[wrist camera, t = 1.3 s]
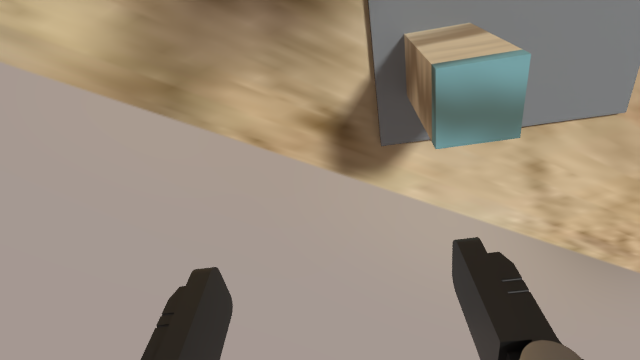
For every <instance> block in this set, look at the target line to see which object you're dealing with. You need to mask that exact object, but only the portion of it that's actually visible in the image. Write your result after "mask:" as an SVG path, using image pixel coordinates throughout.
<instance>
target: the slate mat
mask: <svg viewBox="0 0 640 360" xmlns="http://www.w3.org/2000/svg"><path fill="white" fill-rule="evenodd" d="M368 5H369V16H370V27H371V38H372V50H373V61H374V72H375V83H376V95H377V106H378V117H379V128H380V140H381V146H386V145H394V144H401V143H408V142H415V141H422V140H430V138H429V136H428V134H427V132H426V130H425V128H424V126H423V124H422V123H421V121H420V119H419V117H418V115H417V113H416V111H415V110H414V108H413V106H412V104H411V102H410V100H409V98H408V97H407V88H406V65H405V42H404V34H407V33H413V32H419V31H424V30H430V29H436V28H442V27H448V26H454V25H460V24H466V23H472V24H474V25H476V26H478V27H479V28H481V29H483V30H485V31H487V32H489V33H491V34H493V35H495V36H497V37H499V38H501V39H503V40H505V41H507V42H509V43H511V44H513V45H515V46H517V47H519V48H521V49H523V50H525V51H527V52H529V53H531V59H530V66H529V74H528V81H527V89H526V96H525V104H524V111H523V119H522V127H524V126H531V125H538V124H545V123H553V122H560V121H567V120H574V119H581V118H589V117H596V116H603V115H610V114H618V113H625V112H626V111H627V107H628V104H629V100H630V97H631V93H632V90H633V86H634V83H635V80H636V76H637V73H638V69H639V66H640V0H368Z"/></svg>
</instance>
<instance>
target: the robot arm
mask: <svg viewBox="0 0 640 360" xmlns="http://www.w3.org/2000/svg"><path fill="white" fill-rule="evenodd" d="M452 256H453V257H452V277H453V283H454V288H455V292H456V294H457V297H458V300H459V303H460V305H461V308H462V311H463V313H464V316H465V319H466V322H467V324H468V327H469V330H470V332H471V335H472V338H473V340H474V343H475V346H476V348H477V351H478V354H479V357H480V360H583V359H581V358H580V357H579V356H578V355H577V354H576V353H575V352H574V351H572V350H571V349H569V348H568V347H566V346H564V345H562V343H561V342H560V341H559V340H558V338H557V337H556V335H555V333H554V332H553V330H552V328H551V326H550V325H549V323H548V321H547V320H546V318H545V316H544V315H543V313H542V311H541V309H540V308H539V306H538V304H537V303H536V301H535V299H534V298H533V296H532V294H531V293H530V292H529V289H528V287H527V286H526V284H525V282H524V281H523V280H522V277H521V275H520V274H519V272H518V270H517V269H516V267H515V265H514V264H513V263H512V262H511V261H510V260H509V259H507V258H506V257H505V256H504V255H502V254H501V253H500V252H494V253H487V252H486V250H485V248H484V246H483V244H482V242H481V240H480V239H479V238H478V237H476V238H467V239H459V240H454V241H453V254H452ZM232 307H233V306H232V298H231V295H230V293H229V291H228V289H227V287H226V284H225V282H224V280H223V278H222V275H221V273H220V272H219V270H218V268H216V267H212V268H204V269H196V270H194V271H192V273H191V275H190V277H189V280H188V282H187V284H186V286H182V287H179V288H178V289H177V291H176V292H175V293H174V294H173V295H172V296H171V297H170V298H169V300H168V302H167V304H166V306H165V308H164V311H163V313H162V316H161V317H160V319H159V321H158V323H157V328H155V330H154V332H153V334H152V337H151V339H150V341H149V343H148V345H147V347H146V350H145V352H144V354H143V356H142V358H141V360H220V356H221V353H222V349H223V345H224V341H225V338H226V334H227V331H228V327H229V323H230V319H231V316H232Z"/></svg>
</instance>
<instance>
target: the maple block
mask: <svg viewBox="0 0 640 360" xmlns="http://www.w3.org/2000/svg"><path fill="white" fill-rule="evenodd" d="M404 42H405V65H406V88H407V97H408V98H409V100H410V102H411V104H412V106H413V108H414V110H415V111H416V113H417V115H418V117H419V119H420V121H421V123H422V124H423V126H424V128H425V130H426V132H427V134H428V136H429V138H430V139H431V141H432V143H433V145H434V147H435V149H441V148H448V147H456V146H463V145H470V144H478V143H485V142H493V141H500V140H507V139H515V138H520V134H521V127H522V119H523V111H524V104H525V96H526V89H527V81H528V74H529V66H530V59H531V53H529V52H527V51H525V50H523V49H521V48H519V47H517V46H515V45H513V44H511V43H509V42H507V41H505V40H503V39H501V38H499V37H497V36H495V35H493V34H491V33H489V32H487V31H485V30H483V29H481V28H479V27H478V26H476V25H474V24H472V23H466V24H460V25H454V26H448V27H442V28H436V29H430V30H424V31H419V32H413V33H407V34H404Z"/></svg>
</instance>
